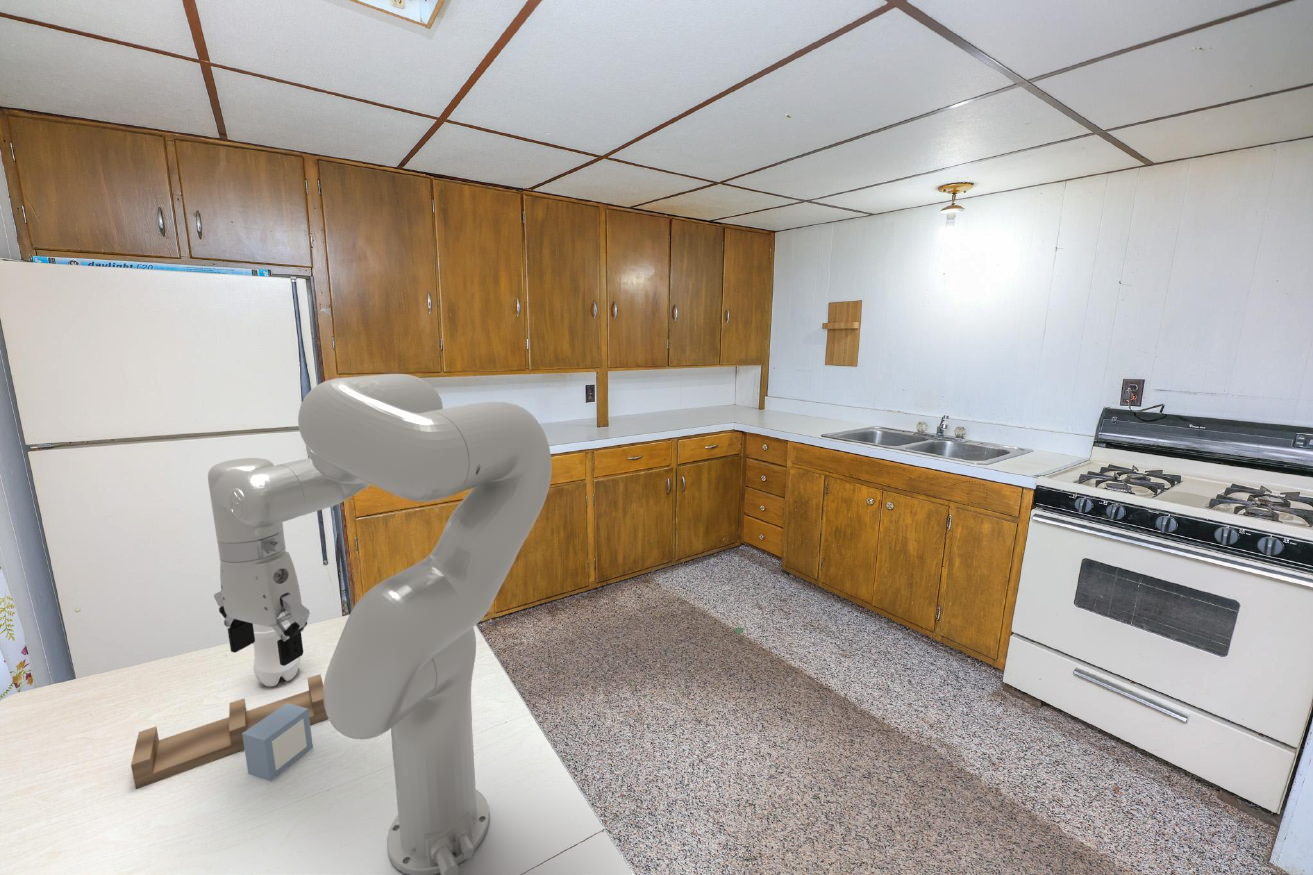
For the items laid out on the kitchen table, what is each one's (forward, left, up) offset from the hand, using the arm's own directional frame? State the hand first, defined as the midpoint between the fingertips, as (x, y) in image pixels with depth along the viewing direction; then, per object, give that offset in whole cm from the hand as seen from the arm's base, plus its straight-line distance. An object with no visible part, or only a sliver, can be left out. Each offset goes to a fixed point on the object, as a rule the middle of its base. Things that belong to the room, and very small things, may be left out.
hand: (267, 653), depth 79 cm
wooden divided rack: (+10, +5, -18) cm, 21 cm away
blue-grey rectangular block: (0, 0, -18) cm, 18 cm away
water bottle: (+24, -1, -18) cm, 30 cm away
